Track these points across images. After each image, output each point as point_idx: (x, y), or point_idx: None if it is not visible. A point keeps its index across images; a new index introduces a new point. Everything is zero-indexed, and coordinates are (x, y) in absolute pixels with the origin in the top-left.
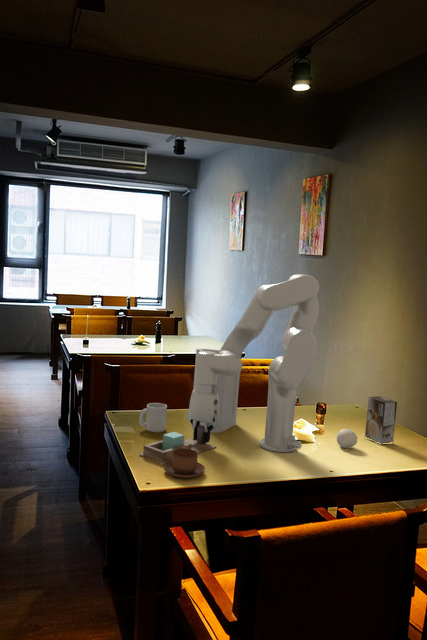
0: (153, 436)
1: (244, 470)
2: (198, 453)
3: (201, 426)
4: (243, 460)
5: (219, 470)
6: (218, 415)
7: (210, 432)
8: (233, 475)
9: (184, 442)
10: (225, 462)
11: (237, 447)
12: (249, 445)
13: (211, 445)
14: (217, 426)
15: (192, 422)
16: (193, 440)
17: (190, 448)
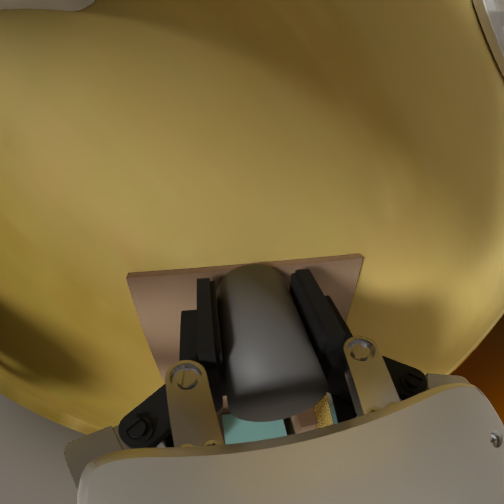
0: (35, 365)
1: (475, 320)
2: None
3: (269, 403)
4: (478, 272)
5: (424, 369)
6: (497, 438)
7: (88, 5)
8: (453, 356)
9: (178, 353)
10: (433, 332)
11: (445, 147)
12: (466, 67)
13: (333, 269)
14: (449, 382)
15: (167, 439)
16: (175, 295)
17: (310, 409)
